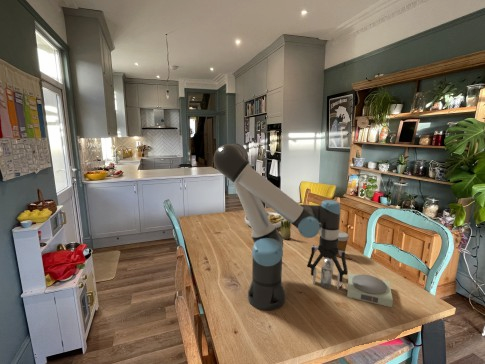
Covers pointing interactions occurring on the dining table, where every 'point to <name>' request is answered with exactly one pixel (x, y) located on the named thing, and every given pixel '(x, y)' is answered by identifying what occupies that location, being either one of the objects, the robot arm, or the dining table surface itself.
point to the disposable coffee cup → (342, 242)
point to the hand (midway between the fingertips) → (325, 284)
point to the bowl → (271, 219)
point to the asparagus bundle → (285, 230)
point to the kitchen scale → (369, 289)
